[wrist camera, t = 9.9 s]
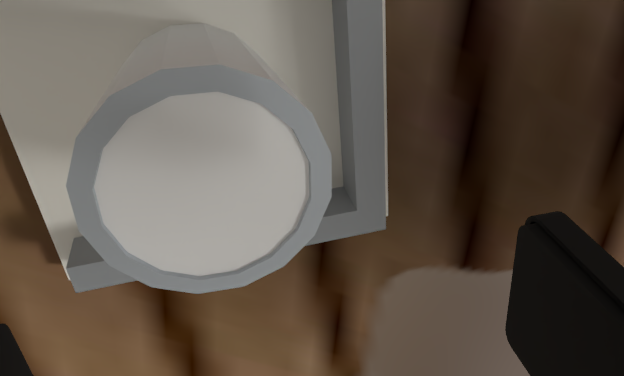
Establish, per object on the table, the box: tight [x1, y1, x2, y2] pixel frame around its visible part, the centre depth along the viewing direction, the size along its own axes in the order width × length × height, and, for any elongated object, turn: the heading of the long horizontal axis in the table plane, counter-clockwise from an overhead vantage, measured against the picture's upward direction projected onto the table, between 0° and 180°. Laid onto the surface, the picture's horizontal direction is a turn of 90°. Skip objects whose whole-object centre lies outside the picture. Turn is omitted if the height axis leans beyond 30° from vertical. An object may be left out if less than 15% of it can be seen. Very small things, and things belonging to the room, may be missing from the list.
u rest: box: [0, 0, 388, 293], centre depth 20 cm, size 14×14×3 cm
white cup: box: [66, 23, 332, 294], centre depth 17 cm, size 7×7×7 cm
